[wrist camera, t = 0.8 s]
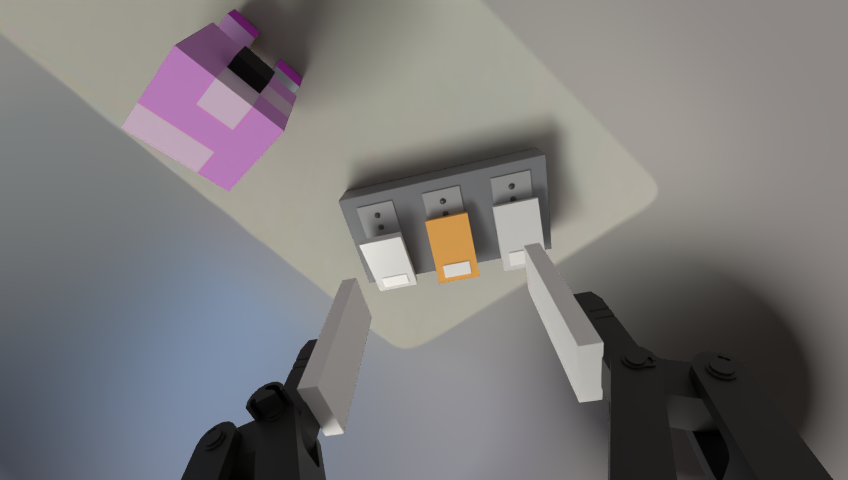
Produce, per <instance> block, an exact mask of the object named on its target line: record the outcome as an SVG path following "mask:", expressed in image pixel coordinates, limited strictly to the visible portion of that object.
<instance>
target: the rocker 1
mask: <svg viewBox="0 0 848 480" xmlns="http://www.w3.org/2000/svg"><path fill="white" fill-rule="evenodd" d="M359 246H360V248H361V250H362V253H363V255H364V257H365V259H366V261H367V263H368V265H369V268H370V270H371V272H372V274H373V276H374V278H375V280H376V283H377V285H378V287H379V289H380V291H383V290H389V289H394V288H399V287H405V286H410V285H415V284H417V276H416V274H415V271H414V268H413V265H412V262H411V259H410V257H409V254H408V251H407V248H406V245H405V242H404V240H403V237H402V234H401V232H396V233H392V234H387V235H382V236H377V237H372V238H368V239H363V240H360V243H359Z"/></svg>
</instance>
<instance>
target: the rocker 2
mask: <svg viewBox="0 0 848 480" xmlns="http://www.w3.org/2000/svg"><path fill="white" fill-rule="evenodd" d="M425 224H426V228H427V232H428V237H429V241H430V245H431V249H432V254H433V258H434V262H435V267H436V271H437V275H438V279H439V283H445V282H450V281H456V280H461V279H466V278H472V277H477V276H480V275H479V270H478V265H477V260H476V255H475V250H474V245H473V239H472V234H471V229H470V224H469V219H468V214H467V211H465V212H461V213H456V214H451V215H446V216H442V217H437V218H432V219H427V220H425Z"/></svg>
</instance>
